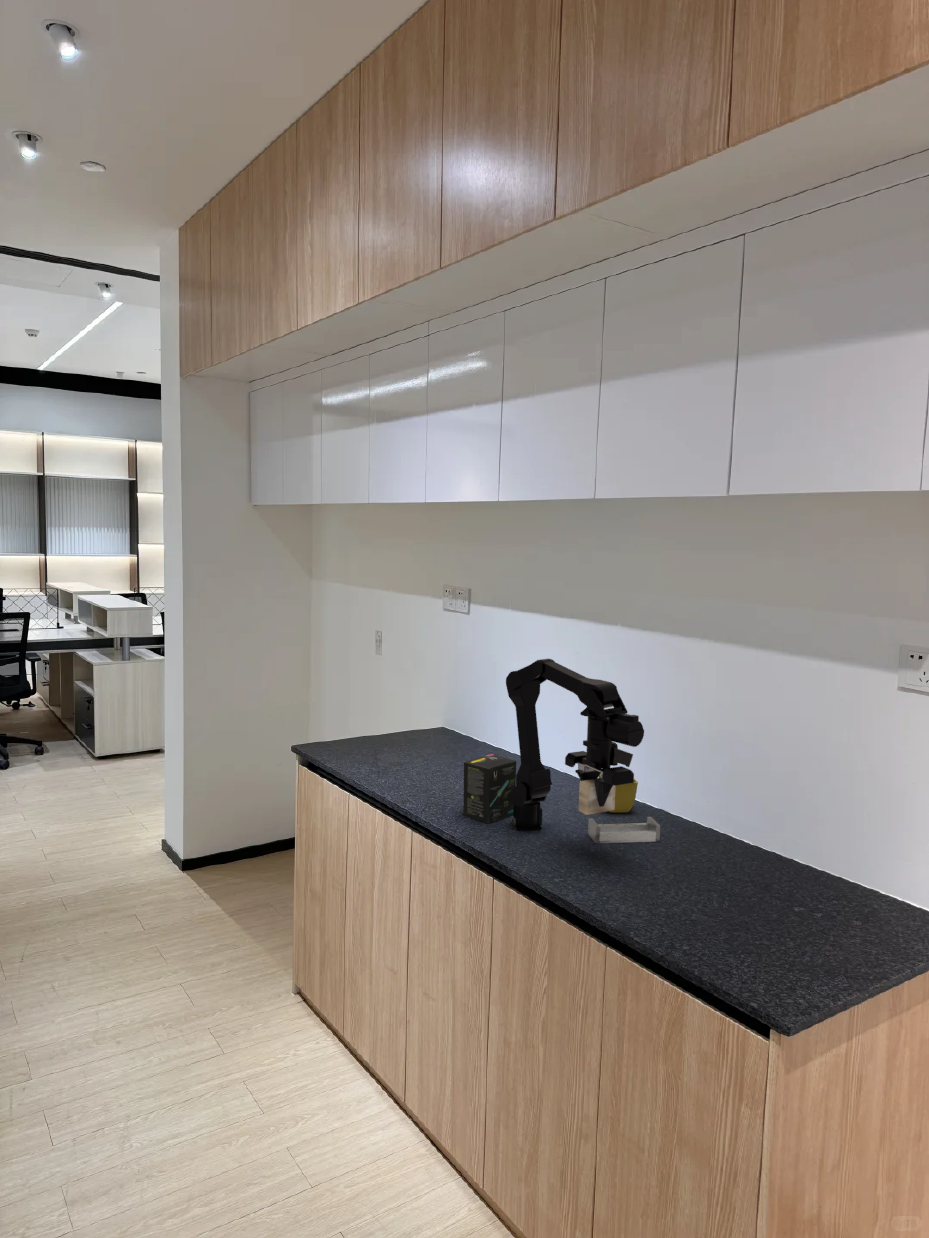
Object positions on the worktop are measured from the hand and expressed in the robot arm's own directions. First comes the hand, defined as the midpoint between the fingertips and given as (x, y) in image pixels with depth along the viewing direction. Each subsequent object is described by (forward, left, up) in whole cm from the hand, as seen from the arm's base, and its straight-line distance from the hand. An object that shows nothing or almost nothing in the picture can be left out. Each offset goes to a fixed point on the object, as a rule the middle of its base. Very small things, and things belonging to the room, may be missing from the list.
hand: (597, 803), depth 191 cm
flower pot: (+15, +29, -12) cm, 35 cm away
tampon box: (-20, +28, -12) cm, 37 cm away
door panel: (0, 0, -2) cm, 2 cm away
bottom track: (+10, +9, -12) cm, 18 cm away
